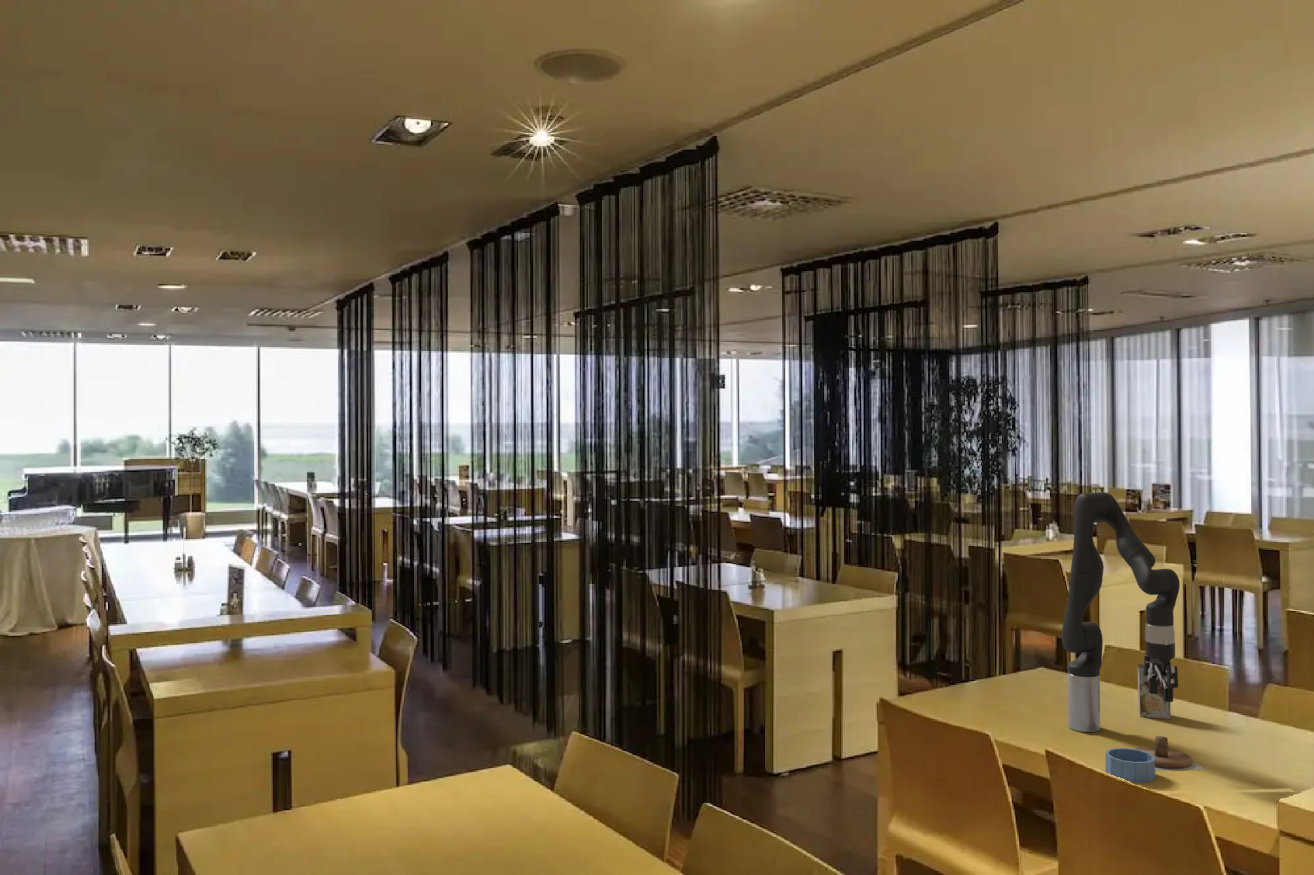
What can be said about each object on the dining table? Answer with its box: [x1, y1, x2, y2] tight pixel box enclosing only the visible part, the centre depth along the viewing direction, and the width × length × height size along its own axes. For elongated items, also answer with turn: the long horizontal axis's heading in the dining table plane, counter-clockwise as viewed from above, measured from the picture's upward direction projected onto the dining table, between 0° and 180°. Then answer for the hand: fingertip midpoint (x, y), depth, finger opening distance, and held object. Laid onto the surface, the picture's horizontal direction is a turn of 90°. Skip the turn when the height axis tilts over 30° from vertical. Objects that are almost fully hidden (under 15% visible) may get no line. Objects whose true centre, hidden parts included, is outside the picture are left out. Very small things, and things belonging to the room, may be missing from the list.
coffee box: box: [1137, 663, 1172, 720], centre depth 324 cm, size 9×6×16 cm
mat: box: [1156, 760, 1205, 771], centre depth 280 cm, size 16×16×1 cm
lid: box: [1135, 735, 1193, 769], centre depth 280 cm, size 15×15×6 cm
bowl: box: [1105, 747, 1157, 784], centre depth 269 cm, size 12×12×6 cm
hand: (1161, 697), depth 280 cm, fingers open, 8 cm apart
